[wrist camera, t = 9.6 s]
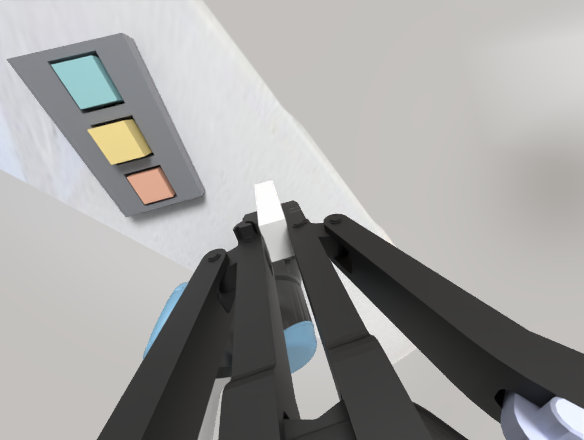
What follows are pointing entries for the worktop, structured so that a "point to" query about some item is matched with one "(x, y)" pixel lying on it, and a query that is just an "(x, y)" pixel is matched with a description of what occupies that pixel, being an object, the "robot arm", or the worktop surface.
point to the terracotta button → (151, 184)
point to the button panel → (113, 118)
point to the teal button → (88, 82)
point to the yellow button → (120, 141)
